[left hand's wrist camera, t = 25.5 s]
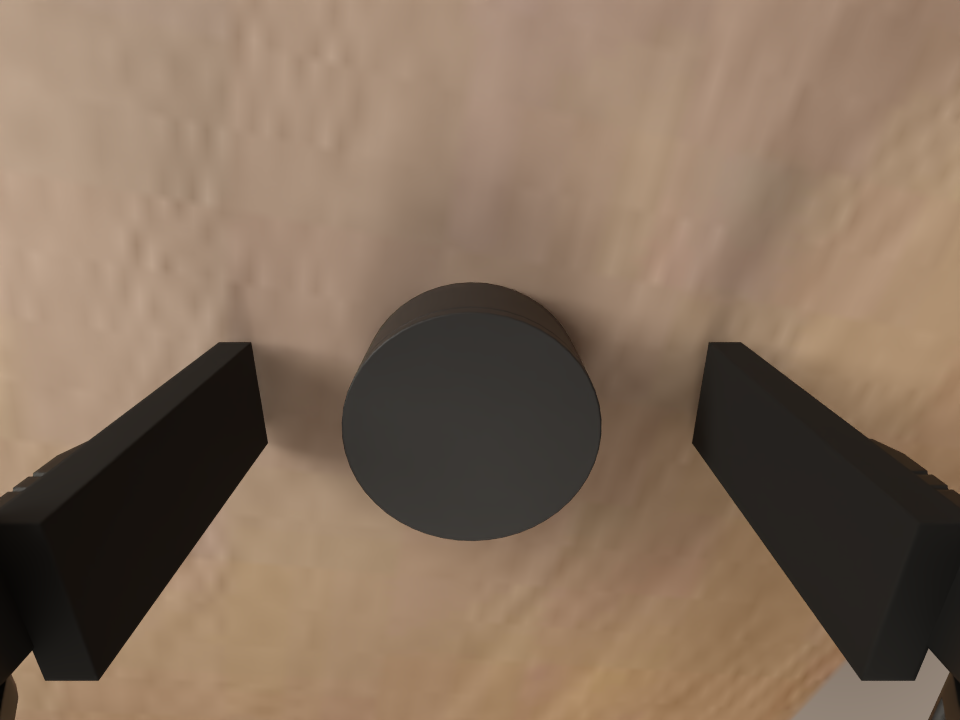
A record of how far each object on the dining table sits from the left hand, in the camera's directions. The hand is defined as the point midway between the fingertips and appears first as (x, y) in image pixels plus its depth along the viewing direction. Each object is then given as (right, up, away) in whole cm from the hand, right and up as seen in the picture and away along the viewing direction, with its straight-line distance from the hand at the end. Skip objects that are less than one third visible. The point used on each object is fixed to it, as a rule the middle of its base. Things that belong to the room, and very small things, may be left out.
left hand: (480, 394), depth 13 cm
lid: (0, -1, -2) cm, 2 cm away
